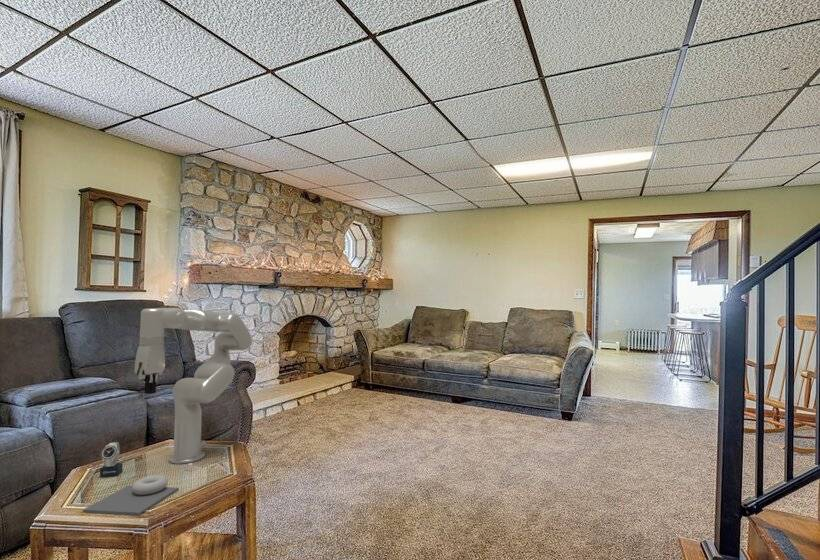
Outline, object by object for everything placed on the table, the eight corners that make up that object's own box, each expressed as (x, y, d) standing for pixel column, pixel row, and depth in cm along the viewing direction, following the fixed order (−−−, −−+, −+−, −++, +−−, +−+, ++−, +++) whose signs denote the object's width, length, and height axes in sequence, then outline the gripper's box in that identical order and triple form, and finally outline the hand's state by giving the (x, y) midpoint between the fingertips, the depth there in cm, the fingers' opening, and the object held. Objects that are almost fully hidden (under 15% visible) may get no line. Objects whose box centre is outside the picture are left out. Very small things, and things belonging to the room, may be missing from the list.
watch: (97, 479, 147) (98, 447, 147) (107, 471, 154) (108, 440, 155) (115, 478, 148) (117, 446, 149) (124, 469, 156) (125, 439, 157)
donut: (143, 484, 141) (124, 497, 131) (143, 473, 141) (124, 485, 131) (173, 483, 141) (157, 496, 131) (174, 473, 141) (157, 484, 132)
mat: (127, 488, 140) (128, 485, 140) (178, 490, 138) (178, 487, 138) (82, 512, 123) (82, 509, 123) (139, 515, 121) (139, 512, 121)
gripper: (157, 340, 161) (155, 389, 159) (126, 343, 146) (124, 397, 145) (175, 340, 160) (173, 389, 159) (146, 344, 145) (144, 397, 144)
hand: (150, 393), depth 152 cm, fingers closed
